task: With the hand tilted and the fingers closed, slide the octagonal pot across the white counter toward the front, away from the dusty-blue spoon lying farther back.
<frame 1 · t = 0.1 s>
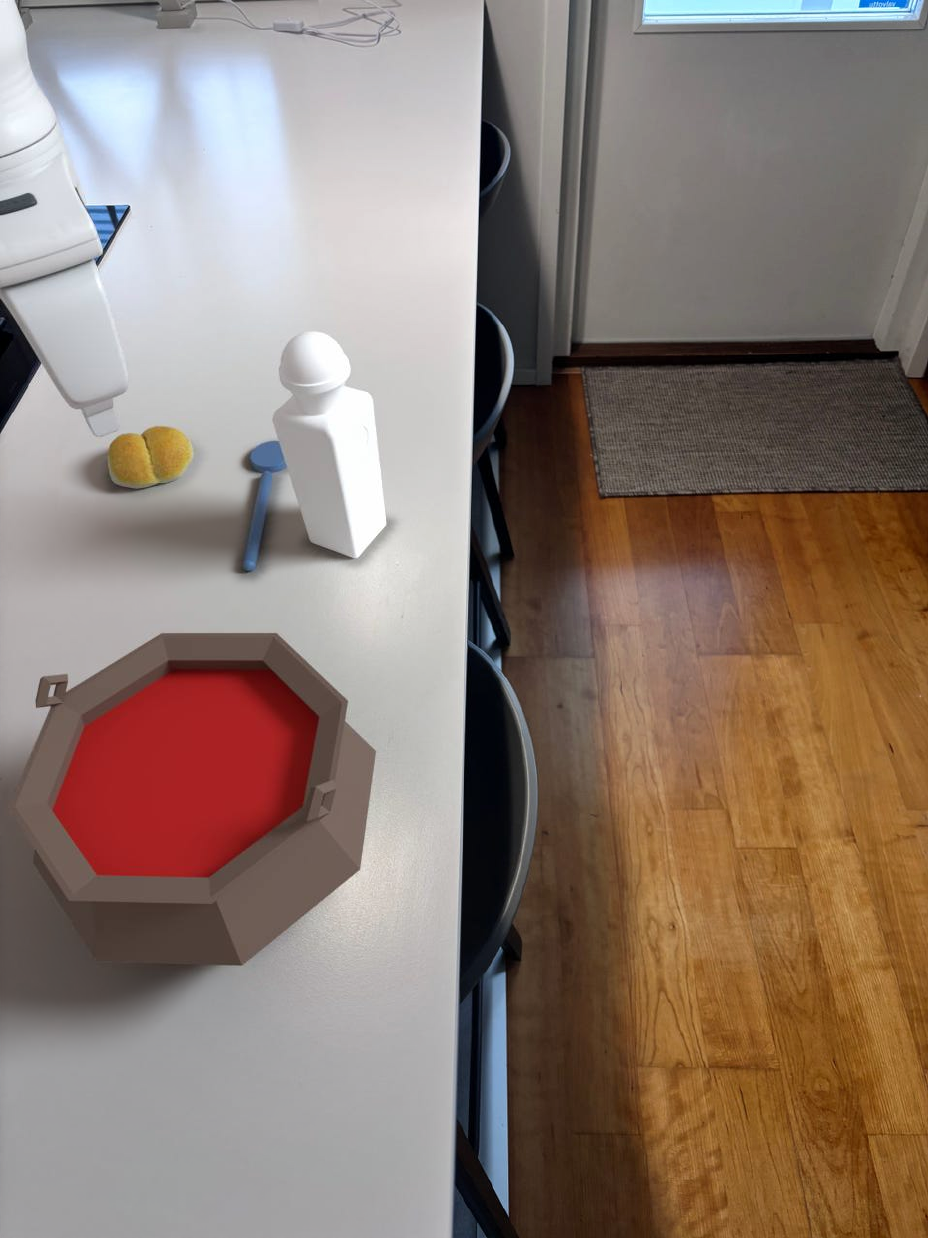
hand: (84, 394, 64), 27 cm above the counter, tool pointing down, fingers open, 8 cm apart
white square bottle: (349, 534, 94), on the counter
spoon: (264, 500, 98), on the counter
bread roll: (152, 468, 103), on the counter
octagonal pot: (235, 855, 71), on the counter
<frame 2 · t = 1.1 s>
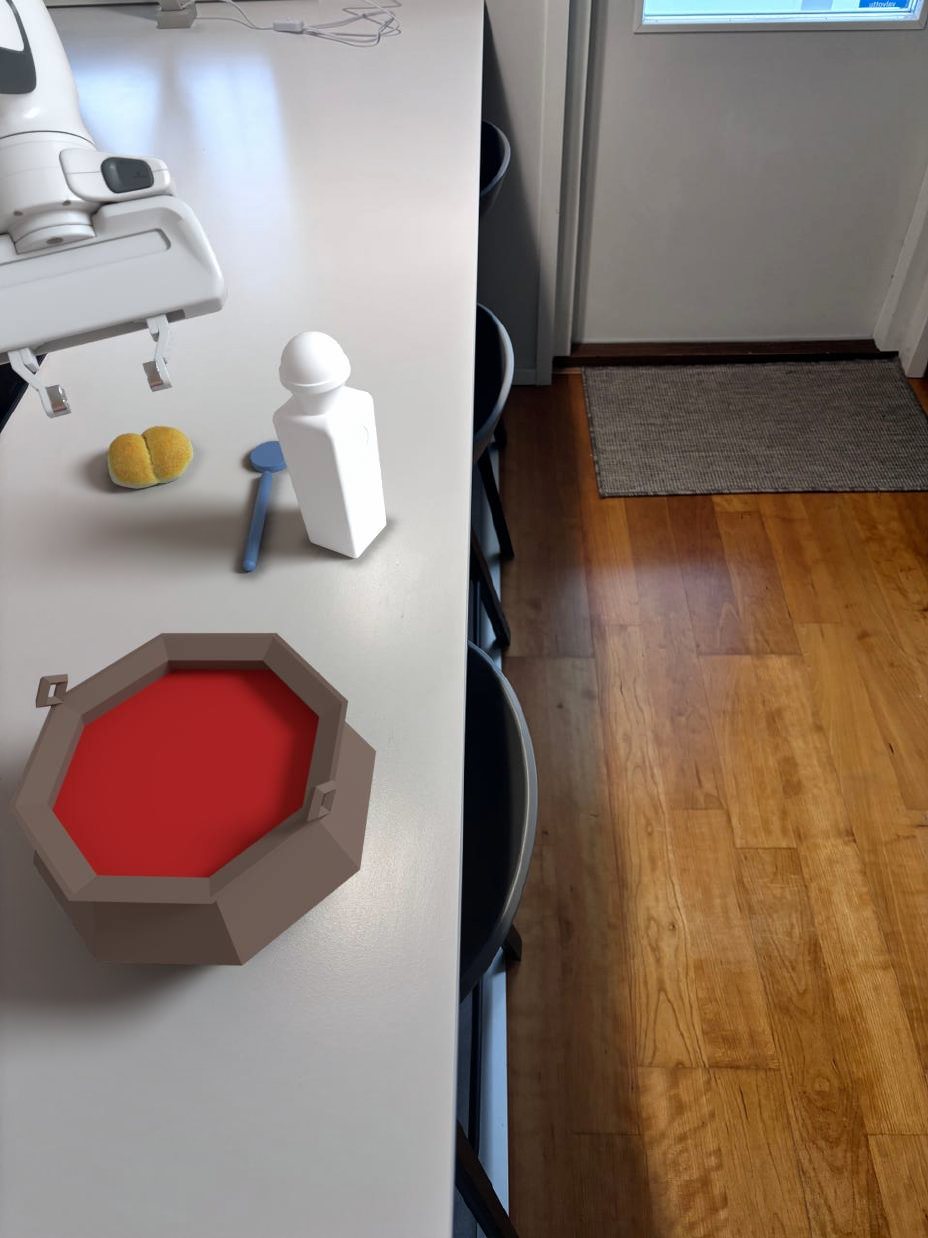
hand: (111, 401, 67), 26 cm above the counter, tool tilted 45°, fingers open, 6 cm apart
nothing on the counter moved.
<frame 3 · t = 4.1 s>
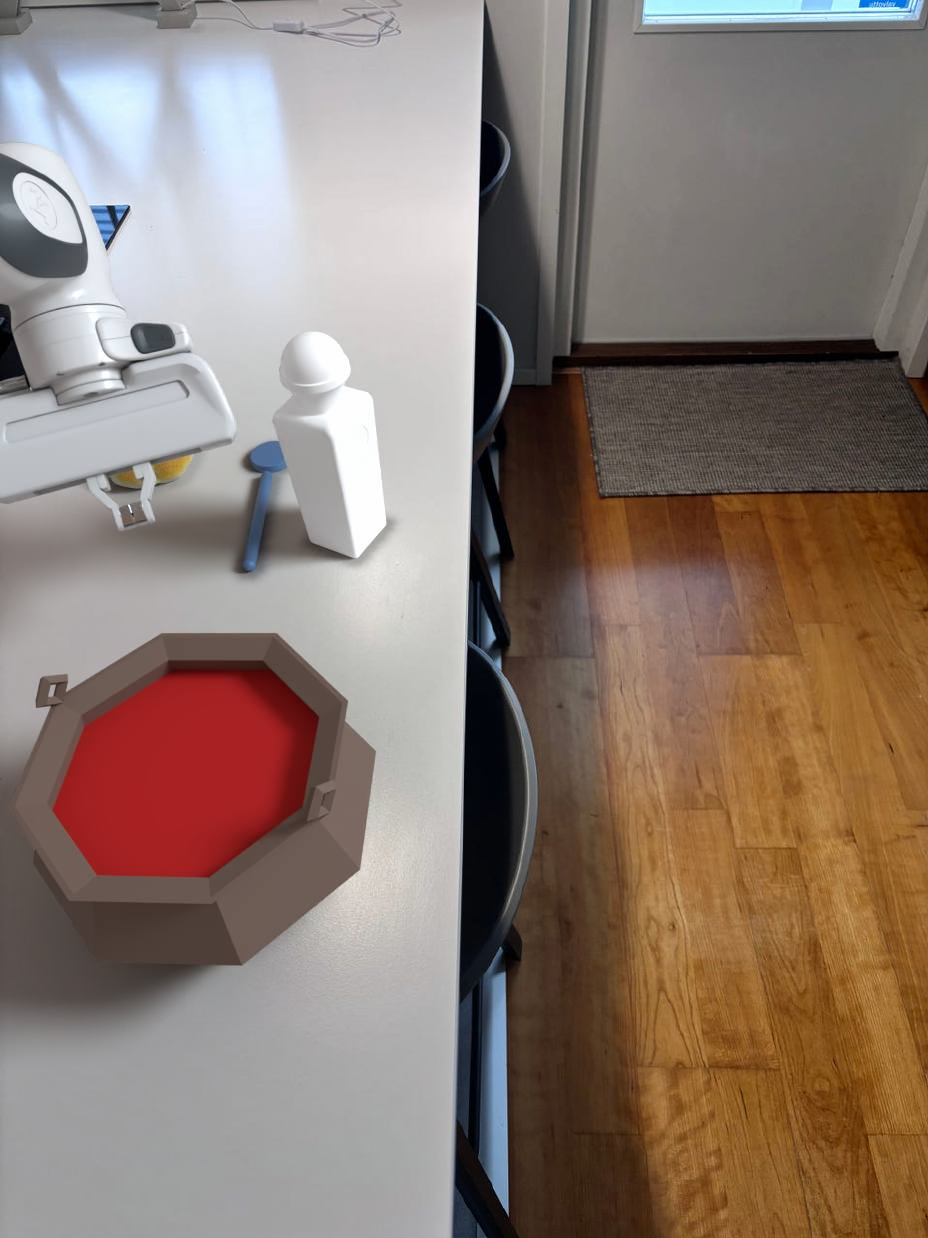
hand: (137, 526, 77), 13 cm above the counter, tool tilted 45°, fingers closed
nothing on the counter moved.
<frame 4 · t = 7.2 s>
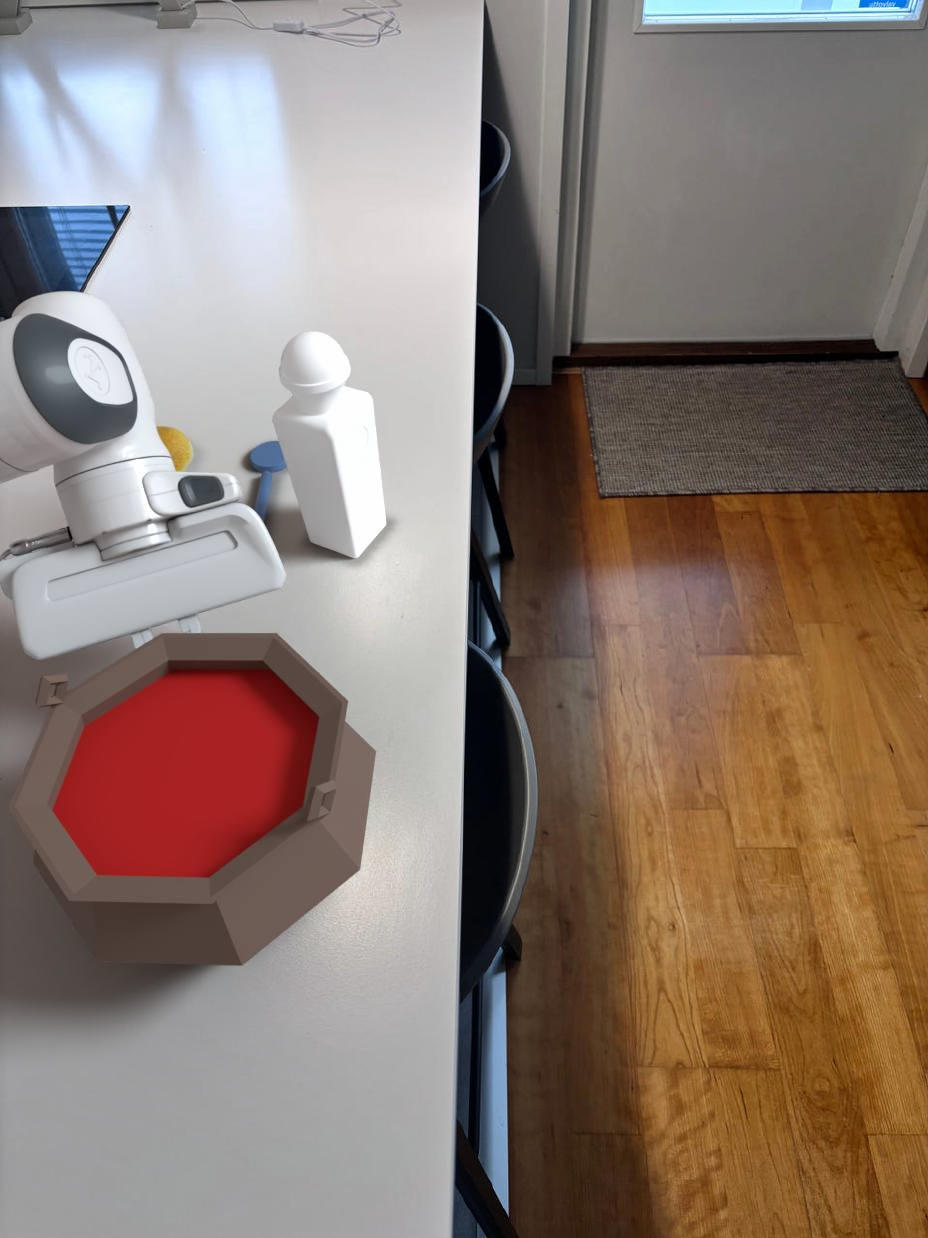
hand: (182, 680, 74), 6 cm above the counter, tool tilted 45°, fingers closed
octagonal pot: (235, 855, 71), on the counter, touching gripper
everything else where it was.
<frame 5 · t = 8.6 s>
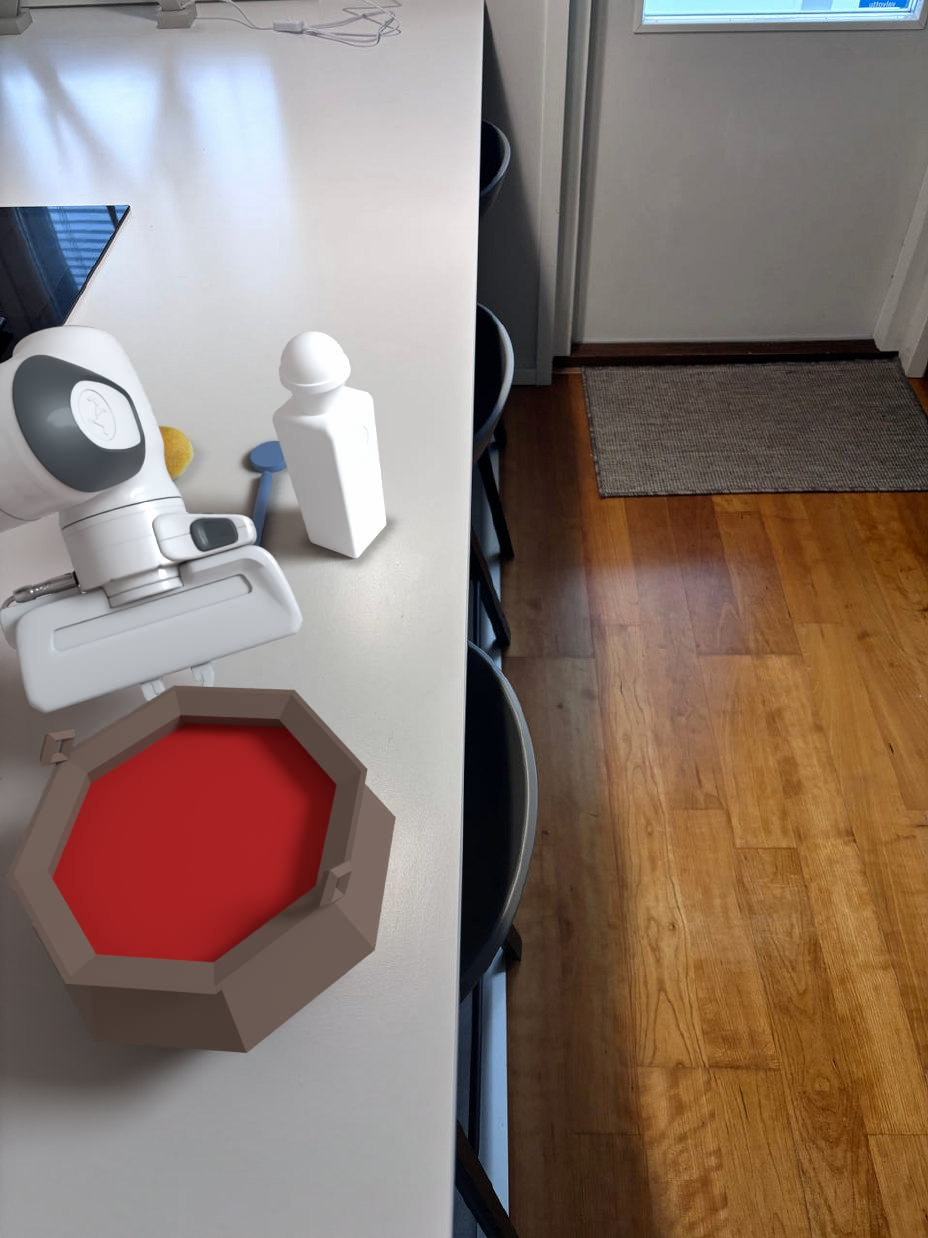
hand: (195, 730, 71), 6 cm above the counter, tool tilted 45°, fingers closed
octagonal pot: (245, 918, 68), on the counter, touching gripper
everything else where it was.
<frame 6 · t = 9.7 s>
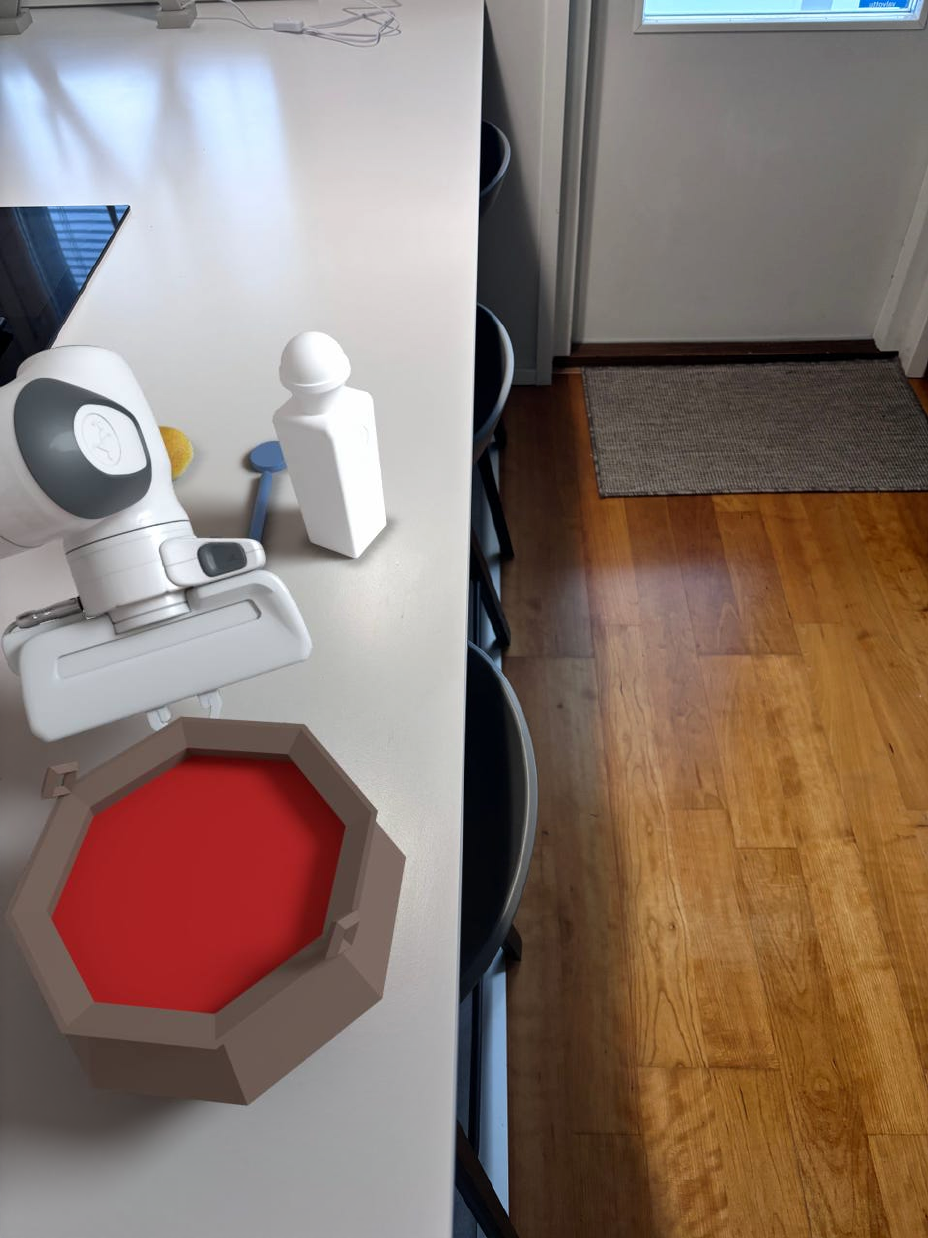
hand: (202, 759, 69), 6 cm above the counter, tool tilted 45°, fingers closed
octagonal pot: (250, 955, 66), on the counter, touching gripper
everything else where it was.
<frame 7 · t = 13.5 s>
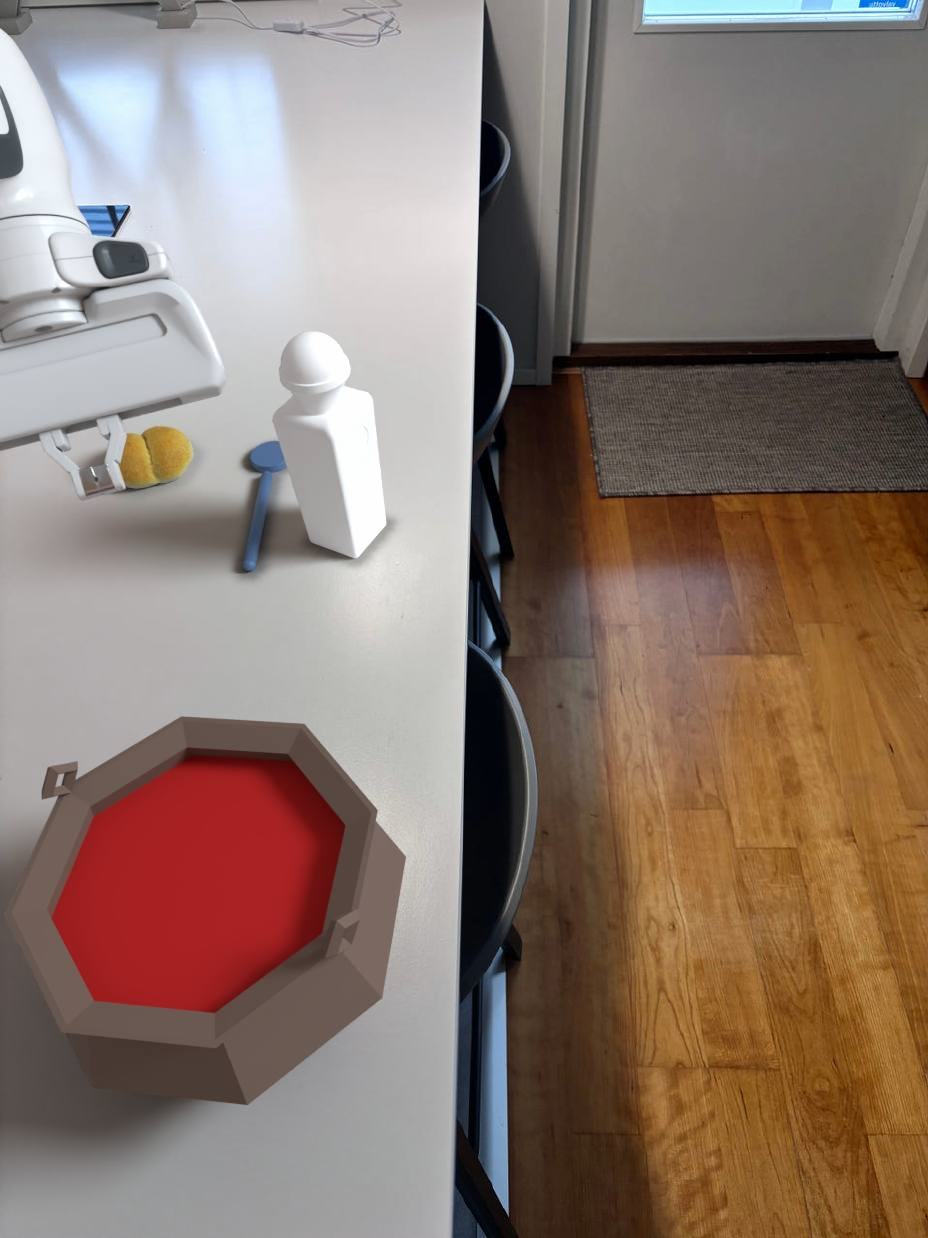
hand: (102, 494, 63), 24 cm above the counter, tool tilted 45°, fingers closed
octagonal pot: (250, 955, 66), on the counter
everything else where it was.
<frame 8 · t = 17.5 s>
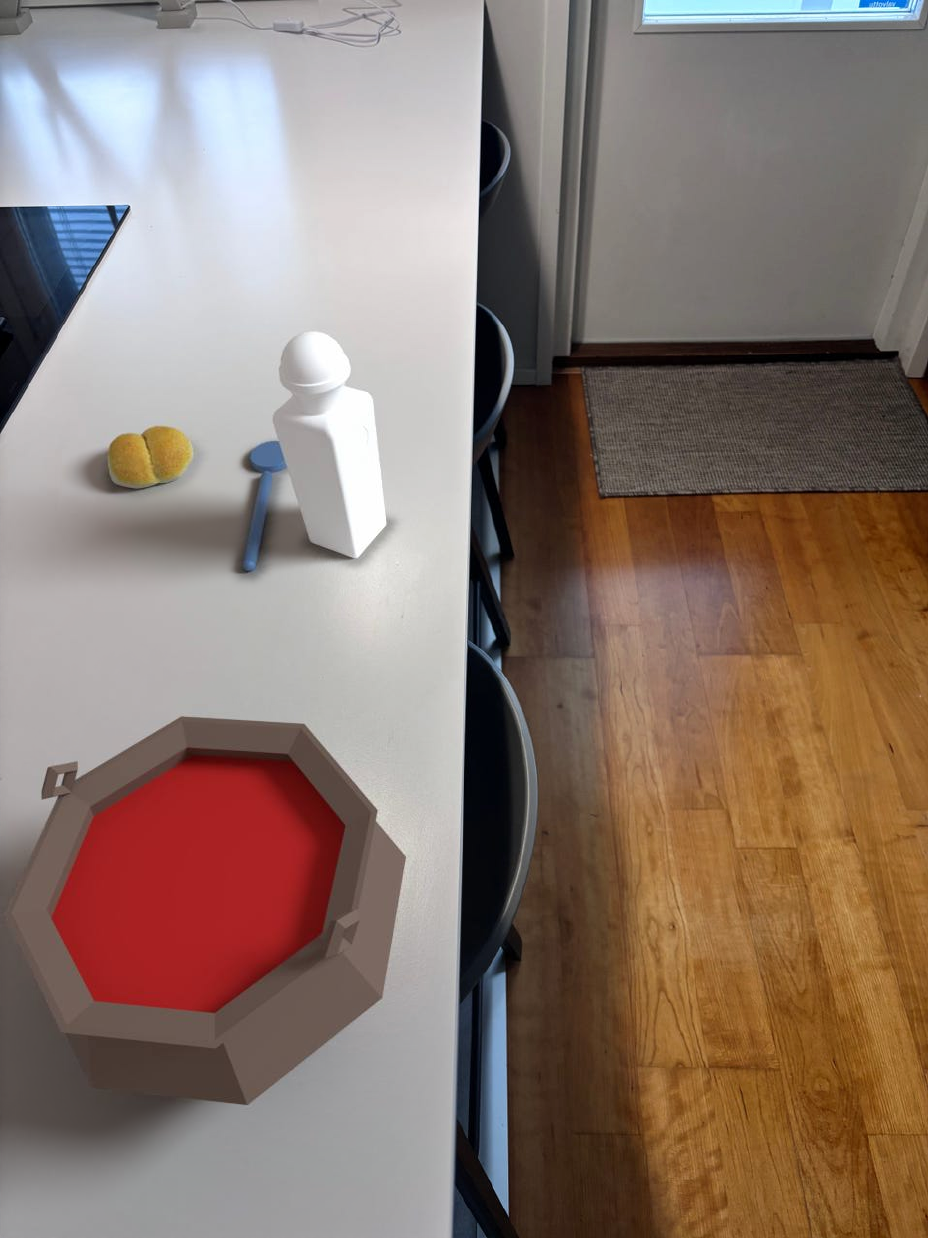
nothing on the counter moved.
at the end: octagonal pot moved 8.0 cm from its start; octagonal pot tilted 0° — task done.
